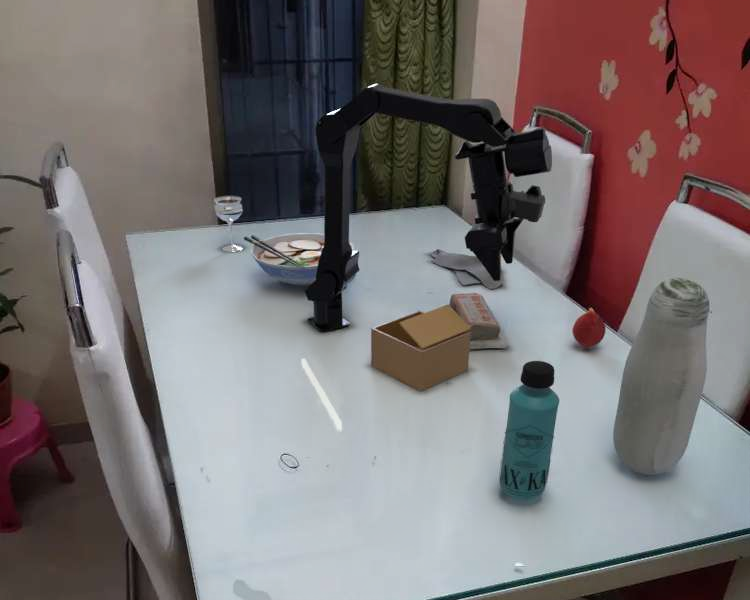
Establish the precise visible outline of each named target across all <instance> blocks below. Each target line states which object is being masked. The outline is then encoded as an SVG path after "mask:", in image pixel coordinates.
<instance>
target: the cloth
mask: <svg viewBox="0 0 750 600" xmlns="http://www.w3.org/2000/svg"><path fill="white" fill-rule="evenodd" d="M429 255H430V256H431V257H433V258H434V259H432V260H431V261H430V263H433V264H436V265H438V266H441V267H444V268H447V269H450V270H452V271H453V272H454V273H455V276H456V279H457V280H458V282H459V283H460V284H461V285H462V286H468V285H469V286H470V285H474V284H478V285H480V284H482V286H483V287H486V289H487V288H488V290H494V289H499V288H500V287H501V286H503V272H502V270H501V279H500V280H499V281H494V280H493V279H492V277H491V276H490V274H489V273H488V272H487V270H486V269H485V267H484V266H483V265H482V263H481V262H480V260H479V259H478V258H477V257H476V255H468V254H463V253H455V252H454V253H452V252H447V251H444V250H442V249H439V248H437V249H436V250H433V251H432V252H429Z"/></svg>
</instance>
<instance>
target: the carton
mask: <svg viewBox="0 0 750 600" xmlns="http://www.w3.org/2000/svg"><path fill="white" fill-rule="evenodd" d="M423 313H425V312H423V311H421V310H417V311H415V312H412V313H409V314H406V315H404V316H400V317H398V318H395V319H392V320H390V321H388V322H385V323H381V324H379V325H375V326H374V327H371V328H370V334H371V335H370V366H371V367H372V368H374V369H376V370H378V371H380V372H382V373H384V374H385V375H388V376H389V377H391V378H394V379H395V380H398V381H400V382H401V383H403V384H405V385H407V386H409V387H411V388H413V389H415V390H417V391H419V392H423V391H425V390H427V389H430V388H432V387H434V386H437V385H440V384H441V383H444V382H445V381H448V380H450V379H452V378H454V377H457V376H459V375H462V374H464V373H466V372H468V371H469V364H470V351H471V349H470V338H471V332H469V331H466V332H463V333H461V334H458V335H456V336H453V337H451V338H448V339H446V340H444V341H441V342H439V343H436V344H434V345H431V346H429V347H426V348H424V349H421V347H420V346H419V345H418V344H417V343H416V342H415V341H414V340H413V339H412V338H411V337H410V335H409V334H408V333H407V332H406V331H405V330H404V329H403V328H402V327H401V326H400V324H399V323H400V322H402V321H405V320H407V319H410V318H413V317H415V316H418V315H421V314H423Z"/></svg>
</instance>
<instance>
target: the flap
mask: <svg viewBox="0 0 750 600" xmlns="http://www.w3.org/2000/svg"><path fill="white" fill-rule="evenodd" d="M399 324H400V326H401V327H402V328H403V329H404V330H405V331H406V332H407V333H408V334H409V335H410V337H411V338H412V339H413V340H414V341H415V342H416V343H417V344H418V345H419V346H420V347H421V349H424V348H426V347H429V346H431V345H434V344H436V343H439V342H441V341H444V340H446V339H448V338H451V337H453V336H456V335H458V334H461V333H463V332H466V331H468V330H470V329H471V328H470V326H469V325H468V324H467V323H466V322H465V321H464V320H463V319H462V318H461V317H460V316H459V315H458V314H457V313H456V312H455V311H454V310H453V309H452V308H451V307H450V306H449V304H445V305H443V306H440V307H437V308H434V309H432V310H429V311H426V312H424V313H423V314H421V315H418V316H415V317H413V318H410V319H407V320H405V321H402V322H400V323H399Z"/></svg>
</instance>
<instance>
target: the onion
mask: <svg viewBox="0 0 750 600" xmlns="http://www.w3.org/2000/svg"><path fill="white" fill-rule="evenodd" d="M605 324H606V323H605V322H604V320H603V318H602V317H601V316H600V315H599V314H597V312H596V311H595V310H594V309H593V308H592V307H589V308H588V310H587V312H586V313H583V314H582V315H580V316H579V317H578V318H577V319H576V320H575V322H574V324H573V326H572V336H573V338H574V340H575V341H576V342H577V343H578V345H580V347H581V348H582V349H584V350H588V349H590V348H593V347H595V346H597V345H599V344H600V343H601V342H602V340H604V337H605V335H606V330H607V329H606V325H605Z"/></svg>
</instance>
